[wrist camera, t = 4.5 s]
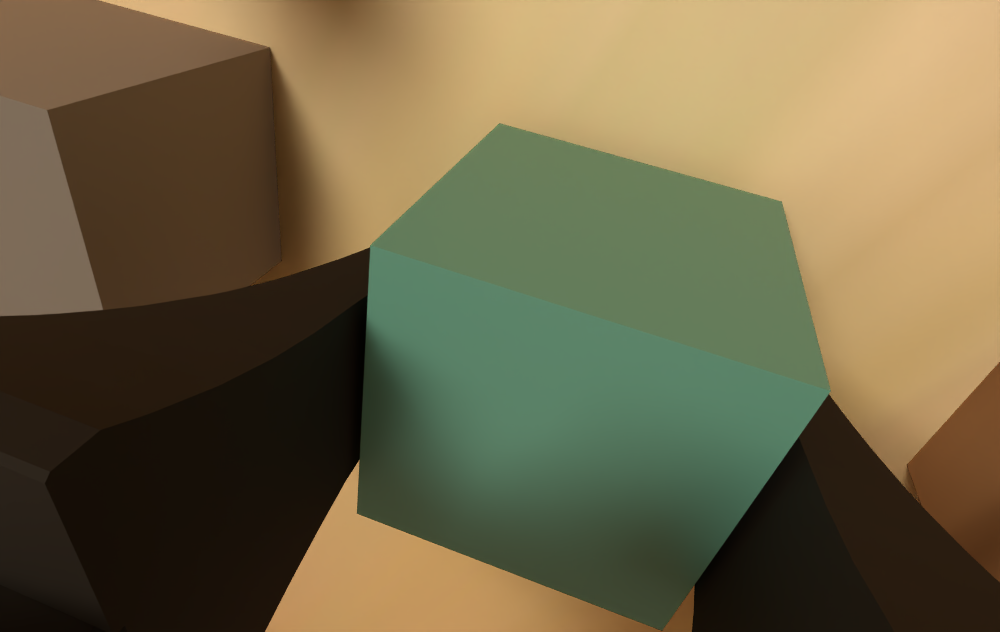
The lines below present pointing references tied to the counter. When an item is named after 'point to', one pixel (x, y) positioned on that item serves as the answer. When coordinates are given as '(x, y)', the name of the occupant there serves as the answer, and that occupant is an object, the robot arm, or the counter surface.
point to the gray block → (130, 159)
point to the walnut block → (966, 474)
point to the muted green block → (582, 368)
